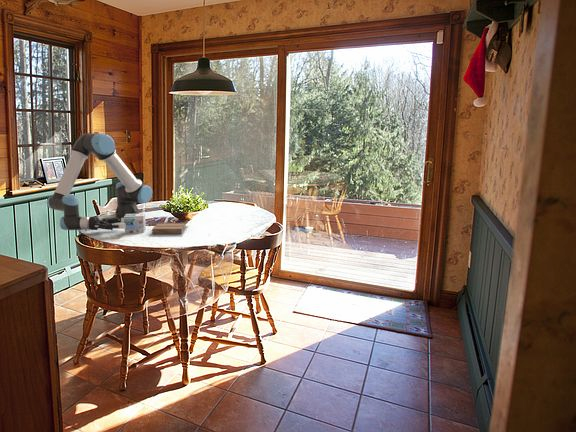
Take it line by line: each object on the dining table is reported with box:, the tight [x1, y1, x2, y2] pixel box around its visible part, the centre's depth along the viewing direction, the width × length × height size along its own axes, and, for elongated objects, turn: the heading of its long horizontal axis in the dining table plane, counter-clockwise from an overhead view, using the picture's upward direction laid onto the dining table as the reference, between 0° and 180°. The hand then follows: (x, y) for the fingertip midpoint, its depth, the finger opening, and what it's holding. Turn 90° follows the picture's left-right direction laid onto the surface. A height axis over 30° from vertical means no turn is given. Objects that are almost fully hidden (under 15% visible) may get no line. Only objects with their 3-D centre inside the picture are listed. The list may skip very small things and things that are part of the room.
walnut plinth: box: [151, 222, 187, 234], centre depth 235 cm, size 14×16×3 cm
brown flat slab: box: [148, 225, 189, 238], centre depth 236 cm, size 24×18×1 cm
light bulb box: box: [123, 213, 147, 235], centre depth 233 cm, size 11×7×11 cm, turn 101°
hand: (129, 223), depth 232 cm, fingers open, 13 cm apart
